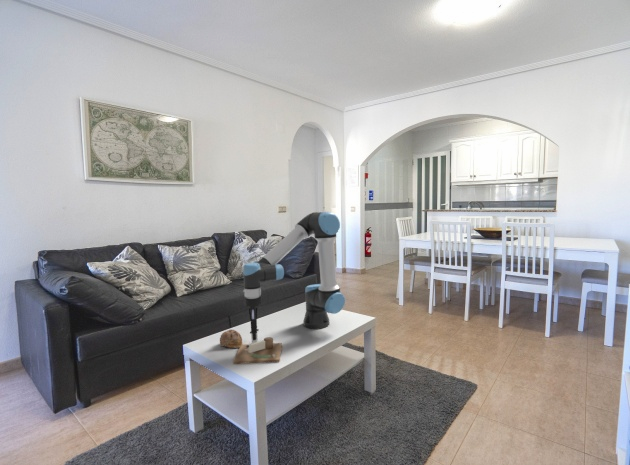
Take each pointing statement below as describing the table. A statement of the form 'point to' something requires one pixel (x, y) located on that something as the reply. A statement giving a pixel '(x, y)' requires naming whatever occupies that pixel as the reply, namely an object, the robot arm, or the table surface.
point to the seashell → (231, 339)
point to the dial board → (258, 355)
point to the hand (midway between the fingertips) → (254, 345)
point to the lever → (260, 345)
